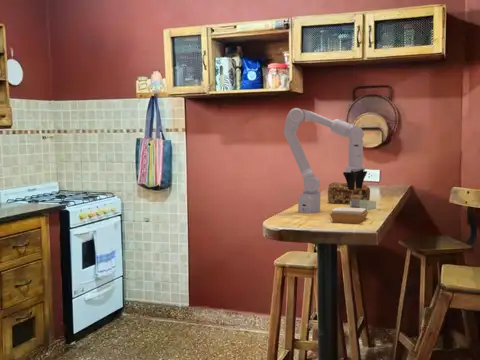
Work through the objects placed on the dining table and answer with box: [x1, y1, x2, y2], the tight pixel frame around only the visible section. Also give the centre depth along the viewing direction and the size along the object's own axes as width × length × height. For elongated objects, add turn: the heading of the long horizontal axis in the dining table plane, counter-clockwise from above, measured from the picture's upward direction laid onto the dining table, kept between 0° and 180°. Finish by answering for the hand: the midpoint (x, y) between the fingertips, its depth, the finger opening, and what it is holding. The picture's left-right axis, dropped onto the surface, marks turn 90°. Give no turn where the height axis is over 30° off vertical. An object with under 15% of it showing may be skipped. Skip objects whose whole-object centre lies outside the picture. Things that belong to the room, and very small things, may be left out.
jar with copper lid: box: [351, 195, 360, 208], centre depth 228 cm, size 4×4×7 cm
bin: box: [349, 199, 377, 211], centre depth 242 cm, size 8×8×4 cm
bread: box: [327, 182, 371, 205], centre depth 268 cm, size 19×11×10 cm, turn 67°
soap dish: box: [329, 206, 369, 225], centre depth 211 cm, size 12×10×5 cm
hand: (355, 189), depth 230 cm, fingers open, 7 cm apart
